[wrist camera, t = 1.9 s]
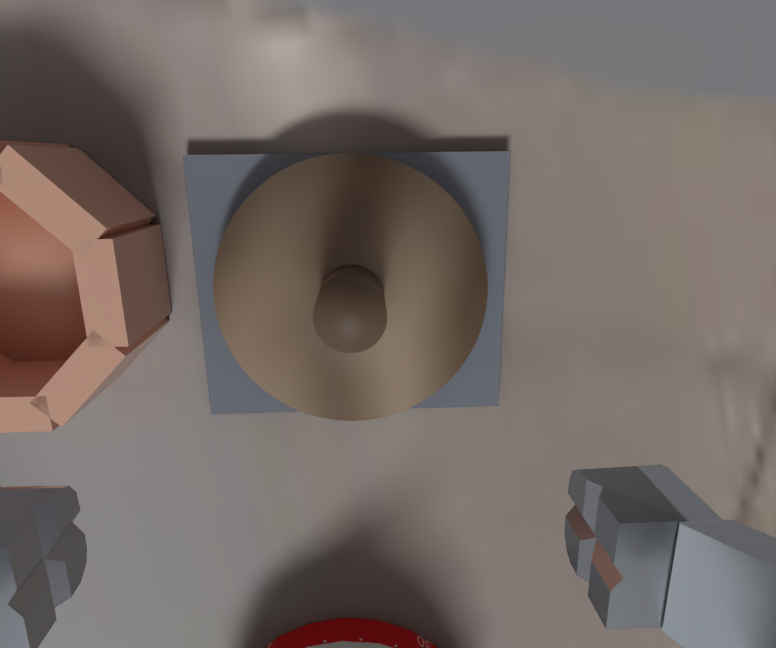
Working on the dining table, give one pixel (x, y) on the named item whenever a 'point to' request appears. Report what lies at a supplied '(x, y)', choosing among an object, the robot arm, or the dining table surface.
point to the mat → (247, 171)
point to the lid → (350, 286)
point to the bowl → (70, 283)
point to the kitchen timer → (350, 635)
